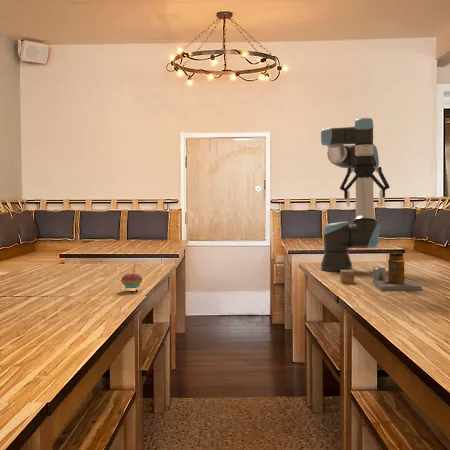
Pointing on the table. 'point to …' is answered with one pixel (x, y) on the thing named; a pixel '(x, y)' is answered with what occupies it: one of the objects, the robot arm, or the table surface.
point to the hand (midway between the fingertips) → (364, 206)
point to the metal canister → (378, 274)
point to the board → (398, 286)
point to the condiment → (395, 269)
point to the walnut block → (347, 276)
